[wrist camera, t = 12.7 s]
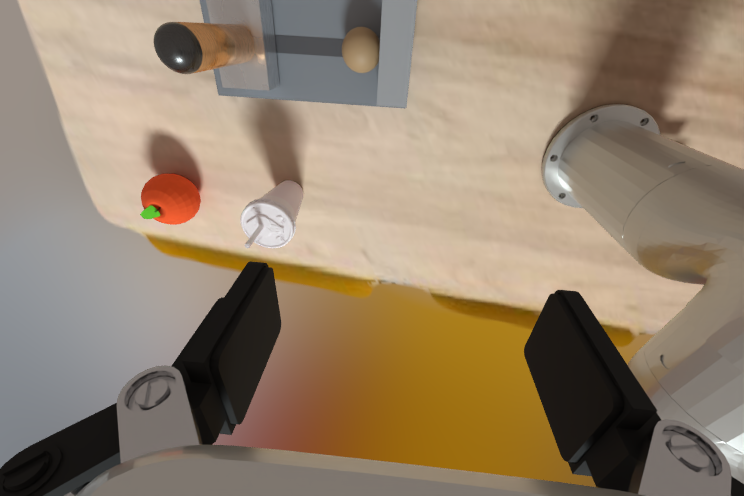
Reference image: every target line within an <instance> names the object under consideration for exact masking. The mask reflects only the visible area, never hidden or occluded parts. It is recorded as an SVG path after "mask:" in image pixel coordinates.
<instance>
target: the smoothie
mask: <svg viewBox="0 0 744 496" xmlns="http://www.w3.org/2000/svg"><path fill="white" fill-rule="evenodd" d="M302 199H303V190H302V188H301V186H300V185H299V184H298V183H296V182H294V181H291V180H286V181H283V182H281V183H280V184H279V185H277V186H276V187H275V188H273V189H272V190H271V191H269V192H268V193H267V194H265V195H264V196H263V197H261V198H260V199H256V200H254V201H252V202H250V203H249V204H248V205H247V206H246V207H245V209H244V210H243V212H242V214H241V226H242V229H243V231H244V232H245V234H246V235H247V236H248V237H249V240H248V241H247V242H246V244H245V247H246V248H249V247H250V246H251V245H252V243H253V242H255V243H256V244H258V245H260V246H263V247H266V248H279V247H282V246H284V245H286V244H287V243H288V242H289V241H290V240H291V239H292V237H293V235H294V234H295V229H296V225H295V222H296V218H297V215H298V212H299V209H300V205H301V202H302Z"/></svg>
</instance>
